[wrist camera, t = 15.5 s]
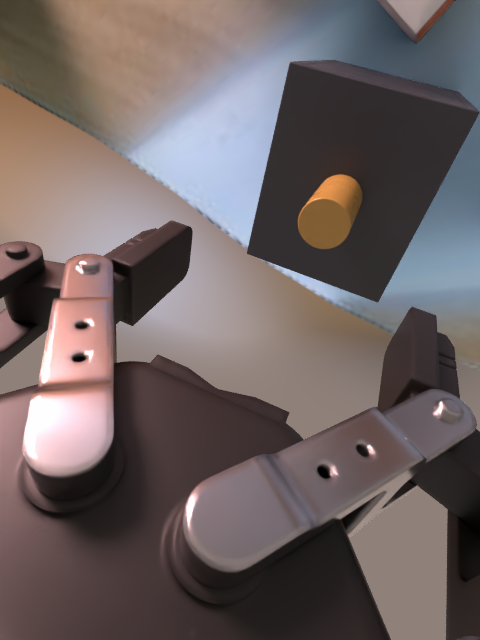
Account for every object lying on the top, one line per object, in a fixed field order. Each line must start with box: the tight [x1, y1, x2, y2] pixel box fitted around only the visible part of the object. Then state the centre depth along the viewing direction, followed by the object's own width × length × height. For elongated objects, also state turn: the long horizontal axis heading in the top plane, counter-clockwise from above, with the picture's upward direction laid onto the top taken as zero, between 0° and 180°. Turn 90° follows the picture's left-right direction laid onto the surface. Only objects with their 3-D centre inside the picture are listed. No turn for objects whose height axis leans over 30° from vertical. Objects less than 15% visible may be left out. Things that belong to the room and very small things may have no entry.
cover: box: [247, 60, 479, 302], centre depth 26 cm, size 10×12×18 cm
